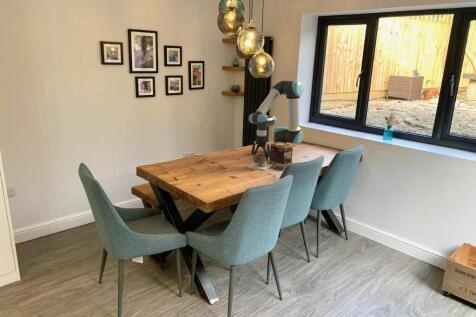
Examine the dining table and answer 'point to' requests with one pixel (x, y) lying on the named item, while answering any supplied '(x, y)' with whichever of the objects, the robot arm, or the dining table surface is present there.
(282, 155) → the supplement box
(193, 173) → the dining table surface
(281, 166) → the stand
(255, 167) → the white post holder
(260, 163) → the brown block
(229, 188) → the dining table surface
